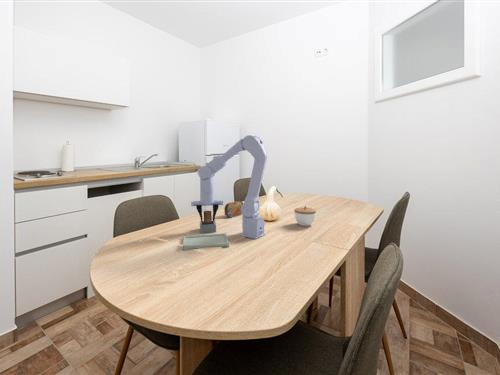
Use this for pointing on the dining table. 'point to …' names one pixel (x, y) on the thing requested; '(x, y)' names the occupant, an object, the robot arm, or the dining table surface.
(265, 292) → the dining table surface
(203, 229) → the grey square socket
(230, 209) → the tin
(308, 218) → the lidded jar
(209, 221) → the dowel
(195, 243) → the tray
